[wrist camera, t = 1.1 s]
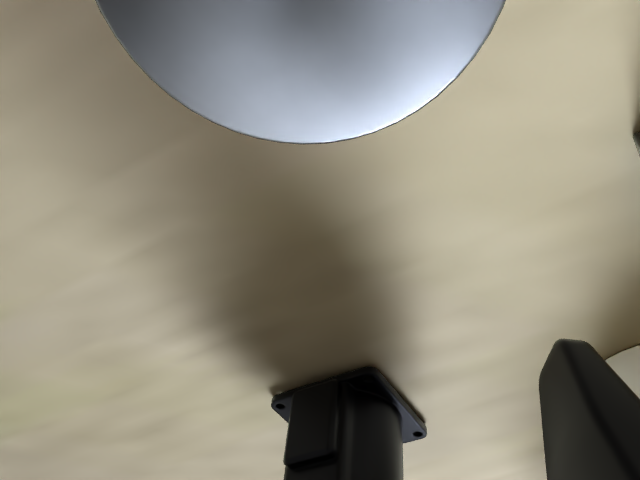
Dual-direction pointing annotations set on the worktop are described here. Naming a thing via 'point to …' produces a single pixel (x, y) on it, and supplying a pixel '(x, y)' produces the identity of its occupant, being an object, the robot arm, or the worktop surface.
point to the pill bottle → (628, 367)
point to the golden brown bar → (637, 141)
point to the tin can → (302, 59)
